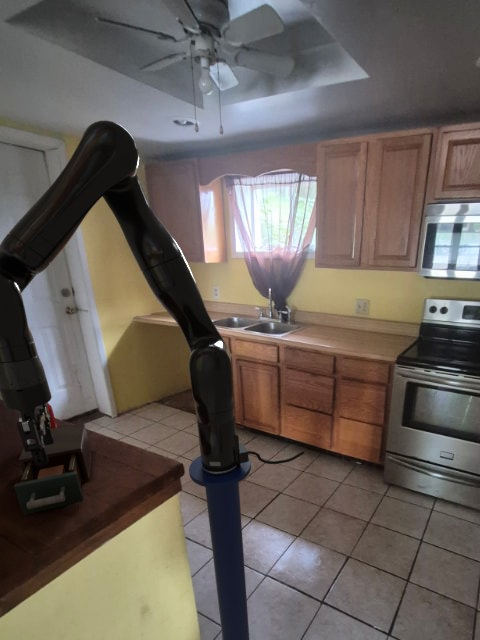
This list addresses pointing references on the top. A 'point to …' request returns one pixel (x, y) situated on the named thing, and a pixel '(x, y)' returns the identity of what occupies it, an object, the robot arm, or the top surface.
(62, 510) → the top surface
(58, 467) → the block
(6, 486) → the top surface
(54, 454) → the cabinet
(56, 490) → the drawer
